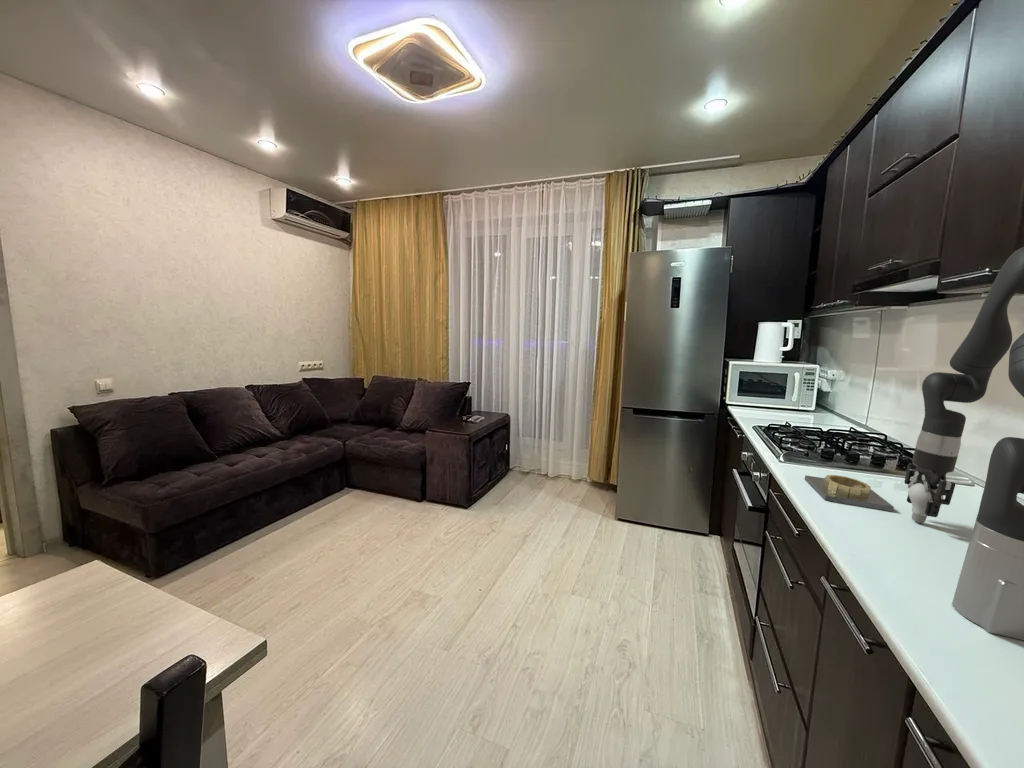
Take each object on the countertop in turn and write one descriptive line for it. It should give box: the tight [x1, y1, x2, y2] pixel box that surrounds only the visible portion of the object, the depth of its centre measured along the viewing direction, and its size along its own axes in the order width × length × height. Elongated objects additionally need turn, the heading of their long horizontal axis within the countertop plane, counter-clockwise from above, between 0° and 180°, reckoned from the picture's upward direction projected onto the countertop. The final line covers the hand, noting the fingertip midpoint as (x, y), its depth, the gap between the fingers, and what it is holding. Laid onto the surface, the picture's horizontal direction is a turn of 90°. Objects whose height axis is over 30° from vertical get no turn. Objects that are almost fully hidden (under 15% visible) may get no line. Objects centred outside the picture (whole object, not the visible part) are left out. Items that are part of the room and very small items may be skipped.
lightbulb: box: [907, 483, 937, 524], centre depth 103 cm, size 6×6×11 cm
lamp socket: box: [803, 474, 895, 512], centre depth 119 cm, size 16×16×4 cm
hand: (921, 509), depth 104 cm, fingers open, 7 cm apart
